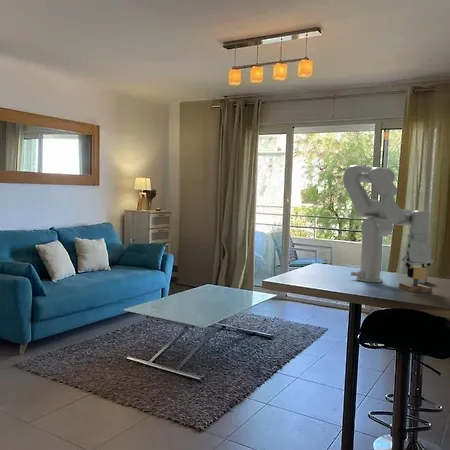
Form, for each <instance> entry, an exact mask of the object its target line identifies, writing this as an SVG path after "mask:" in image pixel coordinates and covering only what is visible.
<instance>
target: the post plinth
mask: <svg viewBox="0 0 450 450" xmlns="http://www.w3.org/2000/svg"><path fill="white" fill-rule="evenodd" d="M398 285H399V286H398V288H400V289H402V290H405V291H407V292H410V293H433V292H432V291H433V288H432V287H430V286H426V285H424V284H422V283H418V279H414V282H413V281H412V283H406V282H404V283H403V282H400V283H399V284H398Z"/></svg>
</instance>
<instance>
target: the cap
mask: <svg viewBox="0 0 450 450" xmlns="http://www.w3.org/2000/svg"><path fill="white" fill-rule="evenodd" d="M412 269H413V277H412V278H411V277H408V275H407V278H409V279H412V280H413V279H426V269H427V268H424V267H420V266H414V265H413V267H412Z"/></svg>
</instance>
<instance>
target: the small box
mask: <svg viewBox="0 0 450 450" xmlns="http://www.w3.org/2000/svg"><path fill="white" fill-rule="evenodd" d="M413 266H420V267H422V266H421V263H414V265H413ZM428 269H429V268H428ZM428 269H426V279H418V284H426V283H427V279H428ZM413 282H414V279H413V278H412V283H413Z"/></svg>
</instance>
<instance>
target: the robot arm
mask: <svg viewBox="0 0 450 450" xmlns="http://www.w3.org/2000/svg"><path fill="white" fill-rule="evenodd" d="M395 176H396V175H395V173H394V171H393V170H391V168H388V167H387V168H386V167H379V166H377V167H374V166H367V165H361V164H353V165H350V166H348V167H346V169H345V171H344V172H343V177H342V181H343V186H344V188H345V191H346V192H347V193H348V196H349V199H350V201H351V203H352V204H353V207H354V209H355V211H356V214H357V215H358V216H359V217H360V218H365V219H364V220H363V221H362V223H361V226H360V227H361V229H360V230H361V238H362V239H361V241H362V242H361V243H362V244H361V255H360V268H359V270H357V271H351V272H350V276H352V277H354V276H355V277H356V280H358V281H360V282H366V283H382V282H383V281H384V279H383V278H381V277H380V276H381V265H382V264H381V263H382V253H383V243H382V238H381V237H387V236H390V235H391V234H392V233H393V230H394V225H395V226H410V234H408V235H407V238H408V239H409V240H408V242H407V246H406V253H405V255H404V257H402V258H401V262H402V263H403V264H404V265H405V266H406V268H407V273H406V274H407V276H408V277H407V278H410V277H411V278H410V279H413V278H412V277H413V269H412V267H413V266H414V263H421V266H422V267H424V268H427V269H429V267H430V266H431V265H432V264H433V263H434V260H433V258H432V248H431V242H430V241H429V236H430V235H429V234H430V221H431V219H430V218H431V213H430V211H428V210H413V209H408V208H407V209H406V208H400V206H399V205H398V203H397V202H396V200H395V196H396V195H397V194H398V191H399V190H398V188H397V186H396V185H395V183H394V181H395V179H396V178H395ZM361 183H365V184H371V185H372V187H373V188H374V189H375V191H376V192H377V194H378V195H379V197H380V200H378V199H372V198H370V196H369V195H368V192H367V190H366V188H365V187H364V186H363V185H362V184H361Z"/></svg>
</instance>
